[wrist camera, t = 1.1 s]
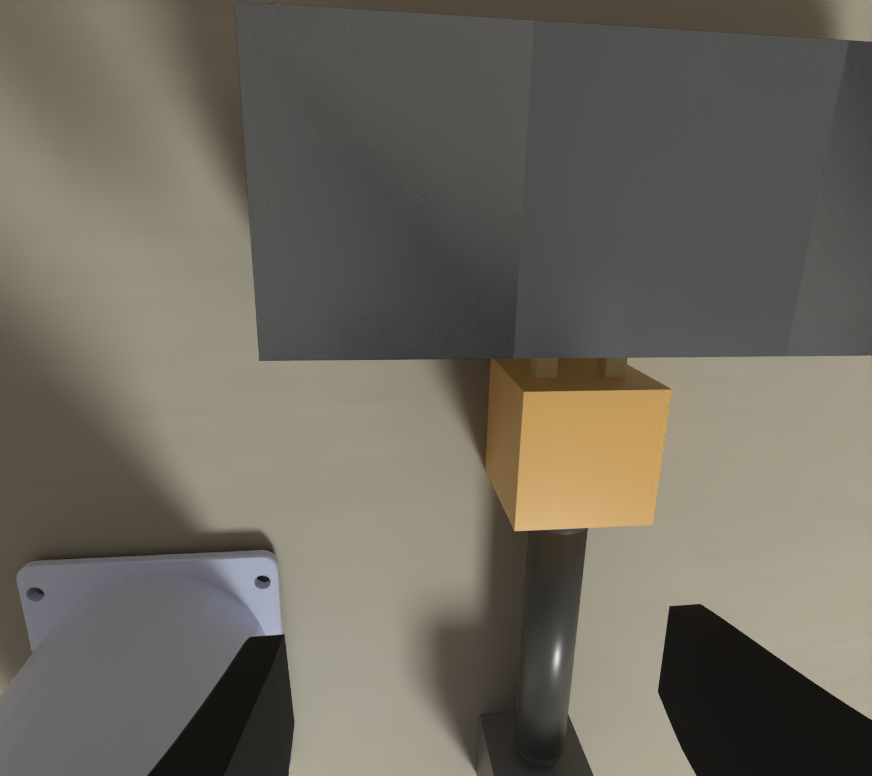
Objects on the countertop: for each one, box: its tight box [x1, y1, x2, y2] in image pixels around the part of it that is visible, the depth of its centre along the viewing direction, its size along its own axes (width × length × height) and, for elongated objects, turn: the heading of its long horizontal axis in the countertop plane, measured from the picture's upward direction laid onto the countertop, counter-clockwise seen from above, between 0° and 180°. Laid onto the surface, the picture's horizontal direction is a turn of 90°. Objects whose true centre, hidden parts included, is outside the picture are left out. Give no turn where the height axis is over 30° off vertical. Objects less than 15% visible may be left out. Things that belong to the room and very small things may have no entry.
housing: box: [234, 1, 872, 361], centre depth 14 cm, size 6×17×6 cm, turn 89°
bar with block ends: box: [477, 358, 672, 776], centre depth 19 cm, size 18×4×5 cm, turn 179°
